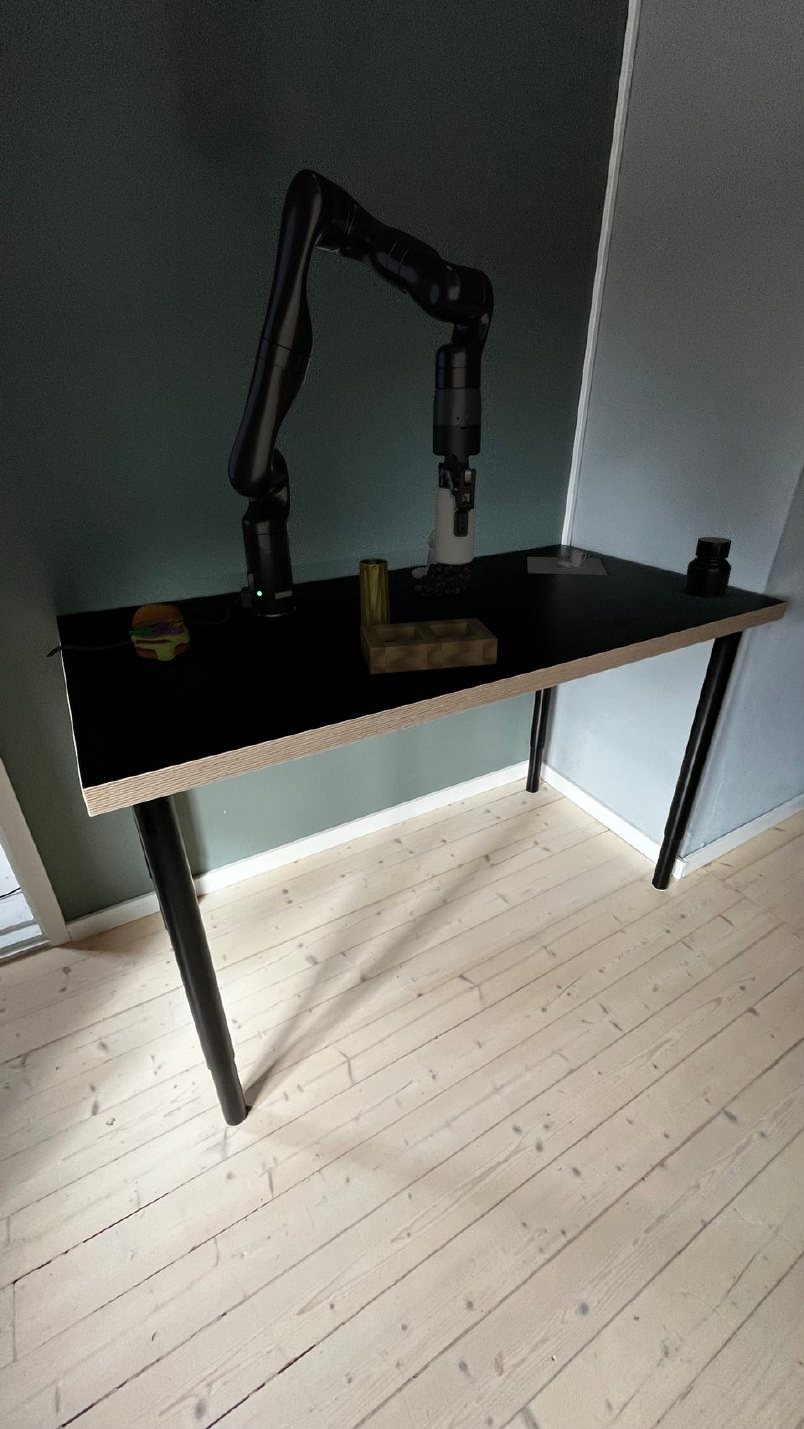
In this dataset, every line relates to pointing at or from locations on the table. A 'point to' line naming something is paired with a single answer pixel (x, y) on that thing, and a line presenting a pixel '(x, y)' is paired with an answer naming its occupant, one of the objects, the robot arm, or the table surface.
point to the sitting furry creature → (431, 557)
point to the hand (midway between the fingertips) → (454, 532)
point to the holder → (427, 645)
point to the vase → (374, 592)
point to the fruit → (443, 580)
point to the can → (451, 532)
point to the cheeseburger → (159, 632)
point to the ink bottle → (709, 568)
